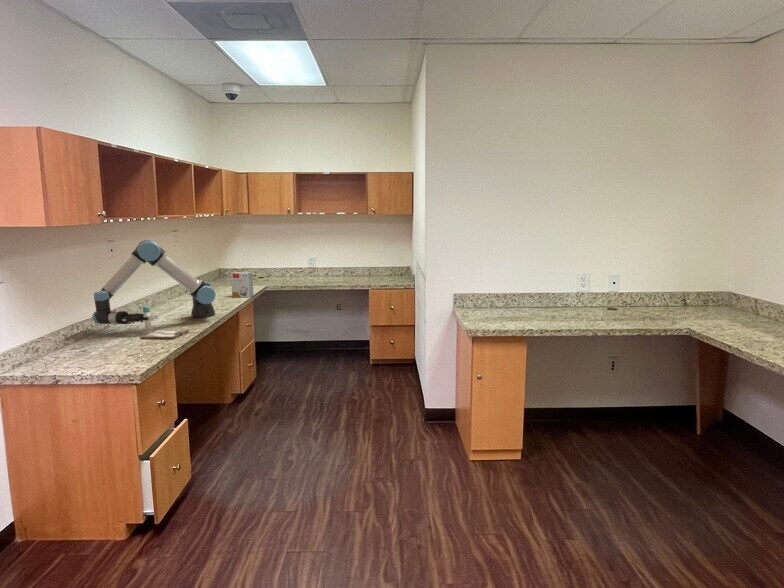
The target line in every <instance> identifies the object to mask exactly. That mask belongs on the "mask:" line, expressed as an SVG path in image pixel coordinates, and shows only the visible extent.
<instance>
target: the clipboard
mask: <svg viewBox="0 0 784 588" xmlns="http://www.w3.org/2000/svg"><path fill="white" fill-rule="evenodd" d="M188 333H190V330H188V329H187V330H184V329H183V330H182V329H181V330H178V329H169V330H167V329H155V330H154V331H152V332H149V333H147V334H145V335H141V336H140V337H139V339H140V340H176V339H177V338H179V337H182V336H184V335H186V334H188Z"/></svg>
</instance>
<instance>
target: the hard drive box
mask: <svg viewBox="0 0 784 588" xmlns="http://www.w3.org/2000/svg"><path fill="white" fill-rule="evenodd" d="M230 284H231V294H232V295H231V297H232V298H248V299H250V298H252V297H255V295H254V280H253V272H251V271H233V272H230Z"/></svg>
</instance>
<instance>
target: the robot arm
mask: <svg viewBox="0 0 784 588" xmlns="http://www.w3.org/2000/svg"><path fill="white" fill-rule="evenodd" d="M146 263H148V264H150V266H151V267H152V266H153V267H158V269H160V270H161V271H163V272H164V273H165V274H167V275H168V276H169V277H170V278H171V279H173V280H174V281H176V282H177V283H178V284H180V285H181V286H182V287H183V288H184V289H186V290H188V294H189V295H190V296H191V297H192V308H191V313H190V315H191V317H192V318H196V319H200V318H201V319H202V318H209V317H213V316H215V315H216V310H215V308H214V306H213V302H214V301H215V299H216V291H215V289H214V288H213V287H212V286H211V283H210V281H206V280H205V281H204V280H202V279H197V278H196V277H194V276H193V275H192V274H191V273H190V272H189V271H187V270H186V269H184V268H183V267H182V266H180V265H179V264H178V263H177V262H175V260H173V259H171V258H170V257H169V256H168V255H167V251H166V250H164V249H163V248H162V247H160V245H159V244H158V243H156V242H155V241H152V240H149V239H145V240H142V241H140V242H139V243H138V244H137V246H136V247H135V249H134V250H133V251H132V252H131V254H130V257H129V258H128V259H127V260H126V261H125V263H124V264H123V265H122V266H121V267H120V268H119V269H118V270H117V271H116V272H115V273H114V275H113V276H111V278H109V280H108V281H107V282H106V283H105V284H104V285H103V286H102V288H101V289H102V290H101V289H100V290H101V291H100V290H99V291H95V292H93V299H94V305H95V311H93V312H92V317H91V319H92V318H93V320H94V321H95V323H94V324H96V323H97V325H115V326H116V325H126V324H127V323H137V322H138V323H139V322H140V323H143V322H145V321H151V322H153V321H155V320H159V314H150V316H144V313H139V312H138V313H128V312H127V311H125V310H122V311H121V310H120V311H119V310H116V311H115V310H111V301H110V300H111V298H113V296H114V295H115V294H116V293H117V292H118V291H119V290H120V289H121V288H122V287H123V285H124V284H125V283H126V282H127V281H128V280H129V279H130V278H131V276H133V274H135V273H136V271H138V269H139V268H140V267H141V266H142V265H145V264H146ZM93 320H92V321H93Z"/></svg>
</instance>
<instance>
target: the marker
mask: <svg viewBox="0 0 784 588" xmlns="http://www.w3.org/2000/svg"><path fill="white" fill-rule="evenodd" d="M150 309H151V308H150V306H149V305H146V306H142V313H143V314H144V316H150V315H151V313H150ZM144 328H145V331H146V332H149V331H153V329H152V328H153V327H152V321H144Z"/></svg>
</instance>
